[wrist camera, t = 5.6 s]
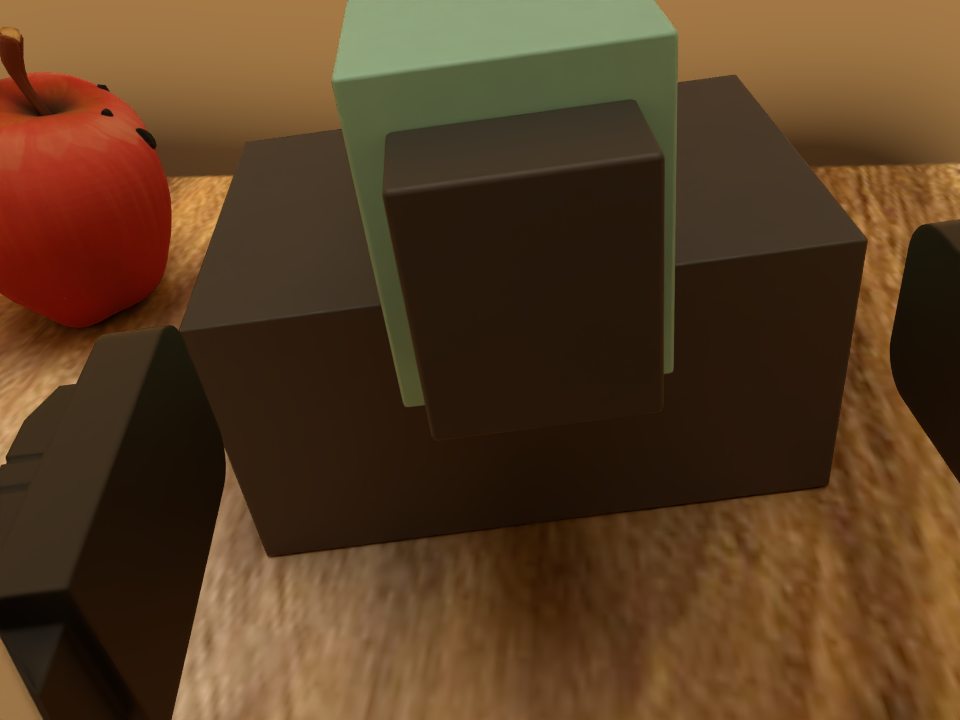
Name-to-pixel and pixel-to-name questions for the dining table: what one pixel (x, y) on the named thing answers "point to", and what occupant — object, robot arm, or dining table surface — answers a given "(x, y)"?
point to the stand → (539, 451)
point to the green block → (517, 202)
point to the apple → (76, 196)
